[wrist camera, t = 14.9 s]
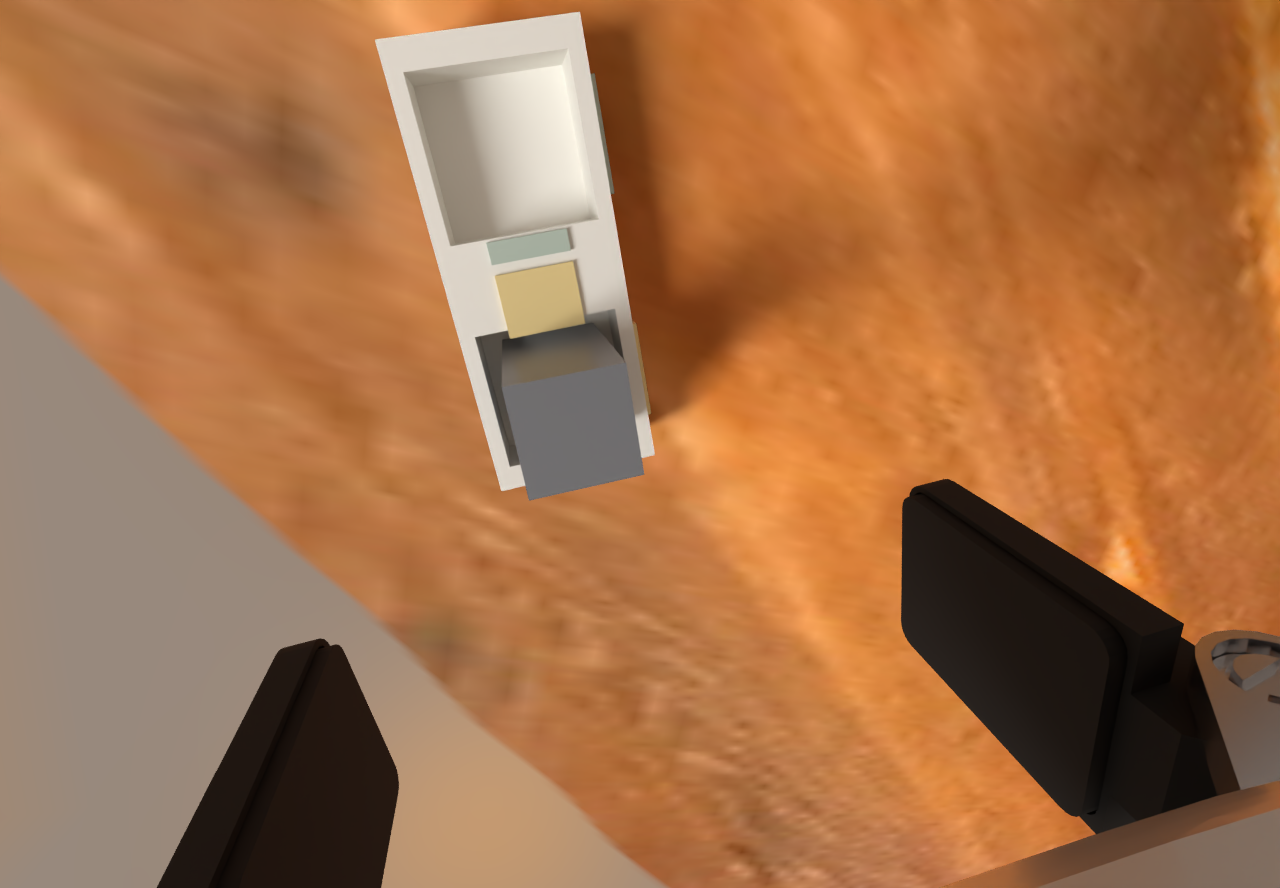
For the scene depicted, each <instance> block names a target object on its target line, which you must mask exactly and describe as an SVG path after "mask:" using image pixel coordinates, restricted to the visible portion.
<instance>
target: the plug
mask: <svg viewBox="0 0 1280 888" xmlns="http://www.w3.org/2000/svg"><path fill="white" fill-rule="evenodd" d="M502 392H503V396H504V400H505V404H506V408H507V412H508V416H509V420H510V424H511V428H512V433H513V437H514V441H515V445H516V449H517V453H518V457H519V461H520V465H521V469H522V474H523V478H524V482H525V486H526V490H527V494H528V498H529V500H534V499H538V498H542V497H547V496H551V495H556V494H560V493H565V492H569V491H573V490H578V489H582V488H587V487H591V486H596V485H600V484H605V483H609V482H613V481H618V480H622V479H627V478H631V477H636V476H640V475H644V470H643V464H642V458H641V452H640V445H639V439H638V433H637V427H636V421H635V414H634V408H633V402H632V396H631V389H630V383H629V377H628V371H627V365H626V362H625V361H624V359H623V358H622V357H621V356H620V355H619V353H618V352H617V351H616V350H615V349H614V347H613V346H612V345H611V344H610V343H609V341H608V340H607V339H606V338H605V337H604V335H603V334H602V333H601V332H600V331H599V329H598V328H597V327H596V326H595V325H594V323H588V324H583V325H578V326H572V327H567V328H562V329H556V330H551V331H546V332H541V333H536V334H532V335H527V336H522V337H517V338H512V339H510V338H509V339H503V340H502Z"/></svg>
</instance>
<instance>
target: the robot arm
mask: <svg viewBox="0 0 1280 888" xmlns="http://www.w3.org/2000/svg"><path fill="white" fill-rule="evenodd" d="M901 623H902V629H903V632H904V634H905V637H906V638H907V640H908V642H909V643H910V644H911V646H912V647H913V648H914V649H915V650H916V651H917V652H918V653H919V654H920V655H921V656H922V657H923V659H924V660H925V661H926V662H927V663H928V664H929V665H930V666H931V667H932V668H933V669H934V671H935V672H936V673H937V674H938V675H939V676H940V677H941V678H942V679H943V680H944V681H945V682H946V684H947V685H948V686H949V687H950V688H951V689H952V690H953V691H954V692H955V693H956V694H957V696H958V697H959V698H960V699H961V700H962V701H963V702H964V703H965V704H966V705H967V706H968V708H969V709H970V710H971V711H972V712H973V713H974V714H975V715H976V716H977V717H978V718H979V719H980V721H981V722H982V723H983V724H984V725H985V726H986V727H987V728H988V729H989V730H990V731H991V733H992V734H993V735H994V736H995V737H996V738H997V739H998V740H999V741H1000V742H1001V743H1002V744H1003V746H1004V747H1005V748H1006V749H1007V750H1008V751H1009V752H1010V753H1011V754H1012V755H1013V756H1014V758H1015V759H1016V760H1017V761H1018V762H1019V763H1020V764H1021V765H1022V766H1023V767H1024V768H1025V769H1026V771H1027V772H1028V773H1029V774H1030V775H1031V776H1032V777H1033V778H1034V779H1035V780H1036V781H1037V783H1038V784H1039V785H1040V786H1041V787H1042V788H1043V789H1044V790H1045V791H1046V792H1047V793H1048V794H1049V796H1050V797H1051V798H1052V799H1053V800H1054V801H1055V802H1056V803H1057V804H1058V805H1059V806H1060V807H1061V808H1062V809H1063V810H1064V811H1065V812H1066V813H1068V814H1070V815H1071V816H1075V817H1077V816H1080V817H1081V819H1082V820H1083V821H1084V822H1085V823H1086V824H1087V825H1088V826H1089V827H1090V828H1091V829H1092V830H1093V831H1094V832H1095V833H1096V835H1093V836H1090V837H1087V838H1084V839H1081V840H1078V841H1075V842H1072V843H1069V844H1066V845H1063V846H1060V847H1057V848H1054V849H1052V850H1049V851H1046V852H1043V853H1040V854H1037V855H1034V856H1031V857H1028V858H1025V859H1022V860H1019V861H1016V862H1013V863H1010V864H1007V865H1004V866H1002V867H999V868H996V869H993V870H990V871H987V872H984V873H981V874H978V875H975V876H972V877H969V878H966V879H963V880H960V881H957V882H954V883H952V884H949V885H946V886H943V887H940V888H1280V637H1279V636H1274V635H1270V634H1265V633H1261V632H1255V631H1243V630H1227V631H1217V632H1213V633H1211V634H1208V635H1206V636H1204V637H1202V638H1201V639H1200V640H1199V642H1198V643H1197V644H1196V645H1193V644H1191V643H1190V642H1188V641H1187V640H1185V639H1184V638H1182V637H1181V634H1182V630H1183V626H1184V624H1183V623H1182V622H1180V621H1178V620H1177V619H1175V618H1174V617H1172V616H1170V615H1169V614H1167V613H1165V612H1164V611H1162V610H1161V609H1159V608H1157V607H1156V606H1154V605H1153V604H1151V603H1149V602H1148V601H1146V600H1144V599H1143V598H1141V597H1140V596H1138V595H1136V594H1135V593H1133V592H1132V591H1130V590H1128V589H1127V588H1125V587H1123V586H1122V585H1120V584H1119V583H1117V582H1115V581H1114V580H1112V579H1111V578H1109V577H1107V576H1106V575H1104V574H1102V573H1101V572H1099V571H1098V570H1096V569H1094V568H1093V567H1091V566H1090V565H1088V564H1086V563H1085V562H1083V561H1081V560H1080V559H1078V558H1077V557H1075V556H1073V555H1072V554H1070V553H1069V552H1067V551H1065V550H1064V549H1062V548H1060V547H1059V546H1057V545H1056V544H1054V543H1052V542H1051V541H1049V540H1047V539H1046V538H1044V537H1043V536H1041V535H1039V534H1038V533H1036V532H1035V531H1033V530H1031V529H1030V528H1028V527H1026V526H1025V525H1023V524H1022V523H1020V522H1018V521H1017V520H1015V519H1014V518H1012V517H1010V516H1009V515H1007V514H1005V513H1004V512H1002V511H1001V510H999V509H997V508H996V507H994V506H993V505H991V504H989V503H988V502H986V501H984V500H983V499H981V498H980V497H978V496H976V495H975V494H973V493H972V492H970V491H968V490H967V489H965V488H963V487H962V486H960V485H959V484H957V483H955V482H954V481H951V480H949V479H943V480H939V481H935V482H932V483H928V484H924V485H920V486H916V487H914V488H913V489H912V490H911V492H910V496H909V497H907V498H906V499H905V500H904V502H903V507H902V602H901ZM398 790H399V781H398V774H397V769H396V766H395V764H394V762H393V759H392V757H391V755H390V753H389V750H388V748H387V746H386V744H385V742H384V740H383V737H382V735H381V733H380V730H379V728H378V726H377V724H376V722H375V719H374V717H373V715H372V713H371V711H370V708H369V706H368V704H367V702H366V700H365V697H364V695H363V693H362V691H361V689H360V686H359V684H358V682H357V679H356V677H355V675H354V673H353V671H352V669H351V666H350V664H349V662H348V659H347V657H346V655H345V653H344V651H343V649H342V647H340V646H339V645H332V646H330V645H329V644H328V642H327V641H326V640H325V639H316V640H313V641H308V642H305V643H301V644H297V645H293V646H289V647H286V648H283V649H280V650H279V651H278V653H277V654H276V656H275V658H274V660H273V662H272V664H271V666H270V668H269V669H268V672H267V674H266V676H265V677H264V679H263V681H262V683H261V685H260V687H259V689H258V691H257V693H256V695H255V697H254V699H253V701H252V703H251V705H250V707H249V709H248V711H247V713H246V715H245V717H244V719H243V720H242V723H241V724H240V727H239V728H238V730H237V732H236V735H235V737H234V738H233V740H232V742H231V744H230V746H229V748H228V750H227V752H226V754H225V756H224V758H223V760H222V762H221V764H220V766H219V768H218V770H217V771H216V773H215V775H214V777H213V779H212V781H211V782H210V784H209V786H208V788H207V790H206V792H205V794H204V796H203V798H202V800H201V802H200V804H199V806H198V808H197V810H196V812H195V814H194V816H193V818H192V820H191V822H190V824H189V826H188V828H187V830H186V832H185V833H184V835H183V837H182V839H181V841H180V843H179V845H178V847H177V849H176V851H175V853H174V855H173V857H172V859H171V861H170V863H169V865H168V867H167V869H166V871H165V873H164V874H163V876H162V879H161V881H160V882H159V885H158V886H157V888H381V885H382V879H383V874H384V868H385V863H386V857H387V852H388V846H389V841H390V835H391V830H392V824H393V819H394V813H395V808H396V802H397V796H398Z"/></svg>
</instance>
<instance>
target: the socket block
mask: <svg viewBox="0 0 1280 888" xmlns="http://www.w3.org/2000/svg"><path fill="white" fill-rule="evenodd" d="M375 42H376V45H377V49H378V52H379V56H380V60H381V63H382V67H383V70H384V74H385V77H386V81H387V85H388V88H389V92H390V95H391V99H392V102H393V106H394V109H395V113H396V117H397V120H398V124H399V127H400V131H401V134H402V138H403V142H404V145H405V149H406V152H407V156H408V159H409V163H410V167H411V170H412V174H413V177H414V181H415V184H416V188H417V191H418V195H419V199H420V202H421V206H422V209H423V213H424V216H425V220H426V224H427V227H428V231H429V234H430V238H431V241H432V245H433V249H434V252H435V256H436V259H437V263H438V266H439V270H440V273H441V277H442V281H443V284H444V288H445V291H446V295H447V298H448V302H449V306H450V309H451V313H452V316H453V320H454V323H455V327H456V330H457V334H458V338H459V341H460V345H461V348H462V352H463V355H464V359H465V363H466V366H467V370H468V373H469V377H470V380H471V384H472V388H473V391H474V395H475V398H476V402H477V405H478V409H479V412H480V416H481V420H482V423H483V427H484V430H485V434H486V437H487V441H488V445H489V448H490V452H491V455H492V459H493V462H494V466H495V470H496V473H497V477H498V480H499V484H500V487H501V491H505V490H509V489H513V488H517V487H521V486H525V482H524V478H523V474H522V469H521V465H520V461H519V457H518V453H517V449H516V445H515V441H514V437H513V433H512V428H511V424H510V420H509V416H508V412H507V408H506V404H505V400H504V396H503V392H502V340H503V339H509V338H510V339H512V338H517V337H522V336H527V335H532V334H536V333H541V332H546V331H551V330H556V329H562V328H567V327H572V326H578V325H583V324H588V323H594V325H595V326H596V327H597V328H598V329H599V331H600V332H601V333H602V334H603V335H604V337H605V338H606V339H607V340H608V341H609V343H610V344H611V345H612V346H613V347H614V349H615V350H616V351H617V352H618V353H619V355H620V356H621V357H622V358H623V359H624V361H625V362H626V365H627V371H628V377H629V383H630V389H631V396H632V402H633V408H634V414H635V421H636V427H637V433H638V439H639V445H640V452H641V458H644V457H648V456H652V455H655V453H654V447H653V441H652V435H651V429H650V423H649V417H648V415H649V414H651V409H650V403H649V397H648V391H647V385H646V379H645V373H644V367H643V361H642V355H641V349H640V343H639V337H638V331H637V325H636V323H635V322H634V321H633V320H632V317H631V311H630V305H629V299H628V293H627V287H626V282H625V276H624V270H623V264H622V258H621V252H620V246H619V240H618V234H617V228H616V222H615V216H614V211H613V205H612V199H611V194H614V187H613V181H612V175H611V169H610V163H609V157H608V151H607V145H606V139H605V133H604V127H603V121H602V115H601V109H600V103H599V97H598V91H597V85H596V79H595V73H593V74H590V69H589V63H588V57H587V51H586V45H585V39H584V33H583V27H582V21H581V16H580V12H574V13H567V14H560V15H552V16H545V17H538V18H530V19H523V20H516V21H508V22H501V23H494V24H486V25H479V26H472V27H464V28H457V29H450V30H442V31H435V32H428V33H420V34H413V35H406V36H398V37H391V38H384V39H376V40H375Z"/></svg>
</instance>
